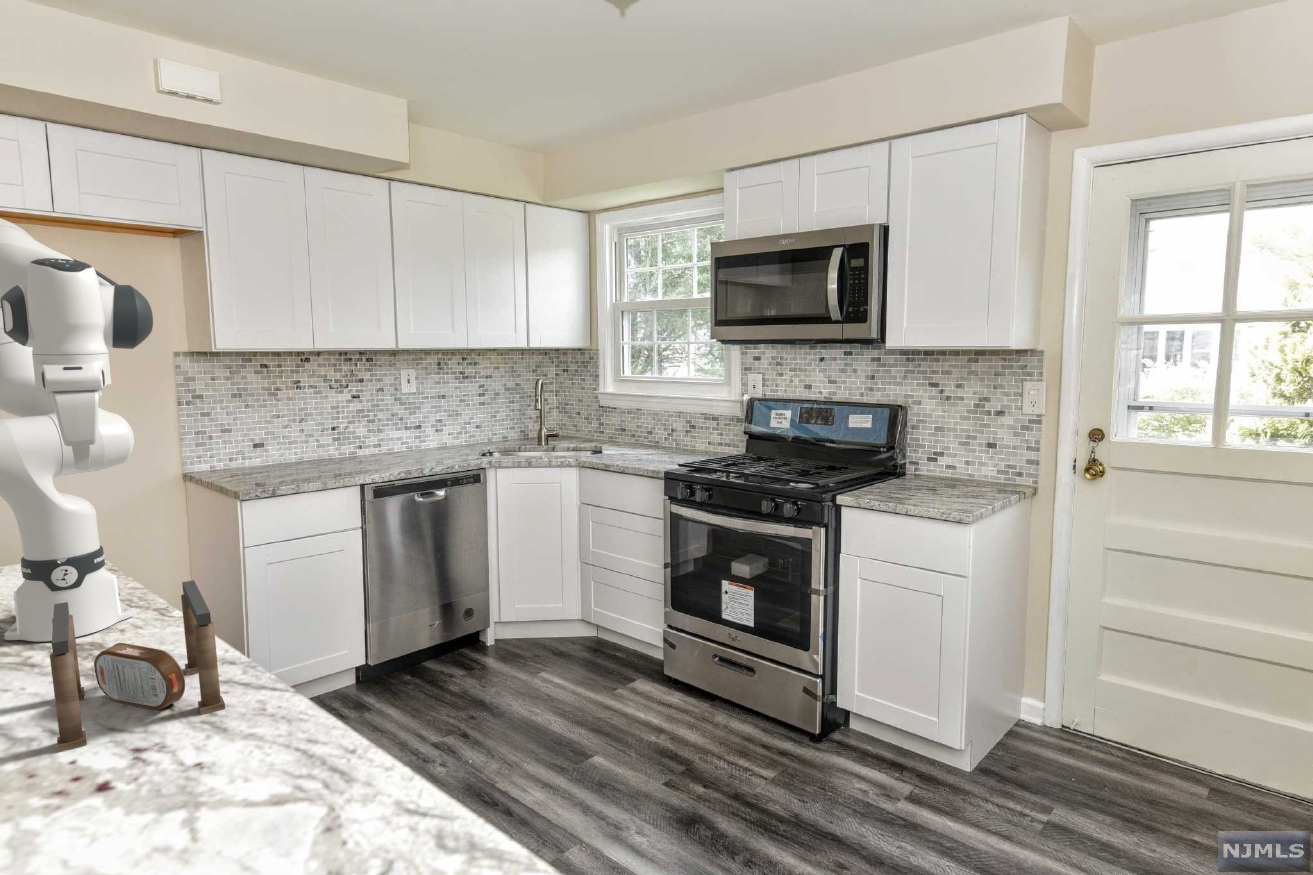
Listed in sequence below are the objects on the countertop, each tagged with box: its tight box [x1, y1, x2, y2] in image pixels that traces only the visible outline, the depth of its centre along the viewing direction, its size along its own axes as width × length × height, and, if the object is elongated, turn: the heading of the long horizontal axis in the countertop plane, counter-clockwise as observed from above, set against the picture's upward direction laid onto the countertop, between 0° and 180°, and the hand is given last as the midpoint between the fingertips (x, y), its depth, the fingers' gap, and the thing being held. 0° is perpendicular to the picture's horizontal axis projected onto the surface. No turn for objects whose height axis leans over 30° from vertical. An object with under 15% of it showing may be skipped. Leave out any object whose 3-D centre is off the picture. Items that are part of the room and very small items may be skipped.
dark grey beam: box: [181, 579, 212, 626], centre depth 116 cm, size 18×2×2 cm, turn 37°
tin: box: [93, 642, 186, 711], centre depth 113 cm, size 15×3×8 cm, turn 71°
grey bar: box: [51, 602, 69, 655], centre depth 106 cm, size 18×2×2 cm, turn 37°
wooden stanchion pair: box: [49, 593, 226, 753], centre depth 112 cm, size 19×19×12 cm
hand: (82, 468), depth 115 cm, fingers closed
